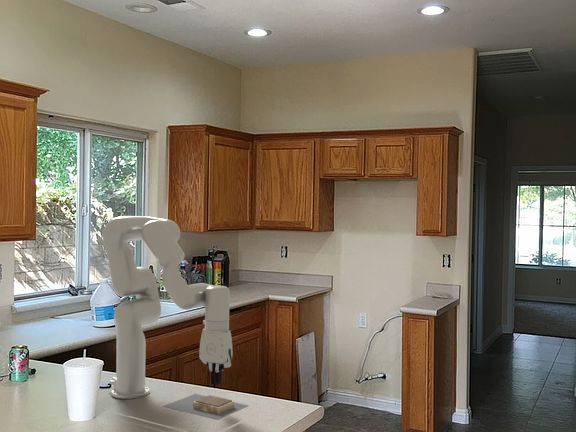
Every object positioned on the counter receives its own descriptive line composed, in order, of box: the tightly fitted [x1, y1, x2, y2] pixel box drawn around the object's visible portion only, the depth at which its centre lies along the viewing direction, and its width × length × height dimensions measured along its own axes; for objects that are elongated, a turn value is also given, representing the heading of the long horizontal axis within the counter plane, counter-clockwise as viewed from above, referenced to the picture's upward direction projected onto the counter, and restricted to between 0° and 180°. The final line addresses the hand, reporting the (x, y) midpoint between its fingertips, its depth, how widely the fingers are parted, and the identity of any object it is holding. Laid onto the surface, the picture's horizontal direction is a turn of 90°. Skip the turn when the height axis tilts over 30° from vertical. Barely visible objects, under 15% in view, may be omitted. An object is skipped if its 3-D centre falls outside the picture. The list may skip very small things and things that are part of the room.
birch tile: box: [193, 394, 235, 414], centre depth 198 cm, size 2×8×10 cm
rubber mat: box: [162, 393, 249, 421], centre depth 200 cm, size 22×16×1 cm
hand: (216, 383), depth 197 cm, fingers closed
